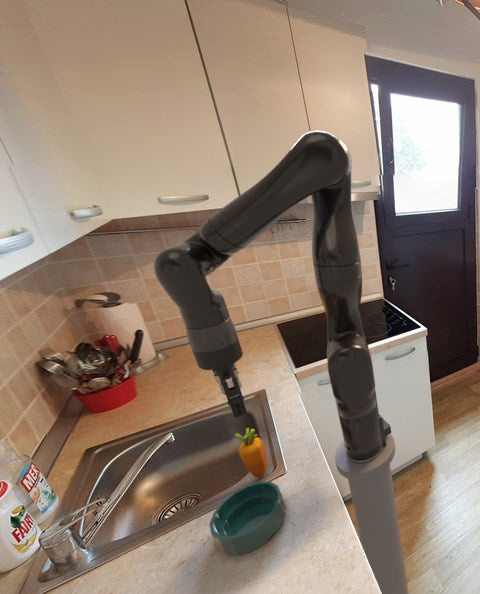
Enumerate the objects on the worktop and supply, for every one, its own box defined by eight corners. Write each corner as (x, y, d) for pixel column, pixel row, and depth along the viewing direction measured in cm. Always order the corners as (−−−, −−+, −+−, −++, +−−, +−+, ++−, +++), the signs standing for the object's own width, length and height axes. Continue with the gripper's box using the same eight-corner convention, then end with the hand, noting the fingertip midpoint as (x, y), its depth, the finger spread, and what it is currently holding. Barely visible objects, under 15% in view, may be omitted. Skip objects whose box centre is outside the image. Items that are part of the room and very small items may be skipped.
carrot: (244, 484, 79) (226, 437, 73) (261, 467, 84) (245, 421, 78) (261, 488, 78) (244, 441, 72) (278, 471, 82) (263, 425, 77)
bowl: (277, 488, 78) (272, 471, 76) (293, 526, 70) (287, 508, 68) (214, 524, 70) (206, 506, 68) (223, 571, 62) (214, 553, 60)
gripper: (244, 347, 64) (264, 413, 70) (231, 323, 74) (249, 383, 80) (194, 362, 59) (221, 431, 65) (188, 334, 69) (211, 397, 75)
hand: (236, 404), depth 73 cm, fingers open, 8 cm apart
